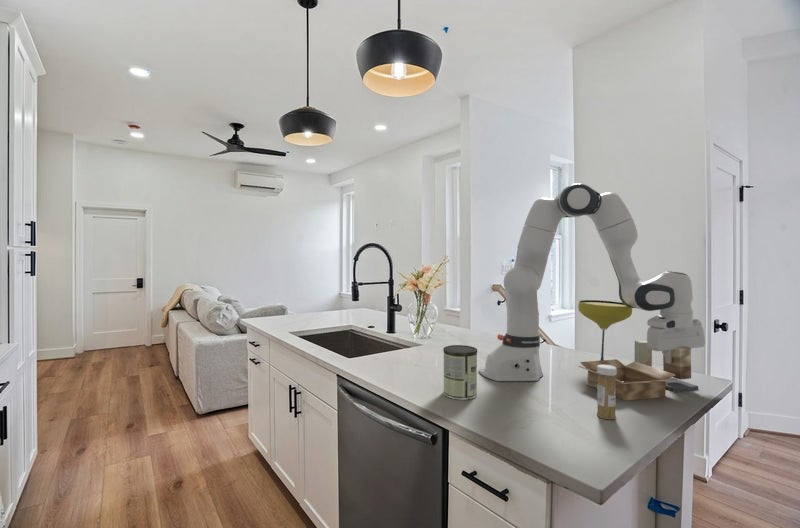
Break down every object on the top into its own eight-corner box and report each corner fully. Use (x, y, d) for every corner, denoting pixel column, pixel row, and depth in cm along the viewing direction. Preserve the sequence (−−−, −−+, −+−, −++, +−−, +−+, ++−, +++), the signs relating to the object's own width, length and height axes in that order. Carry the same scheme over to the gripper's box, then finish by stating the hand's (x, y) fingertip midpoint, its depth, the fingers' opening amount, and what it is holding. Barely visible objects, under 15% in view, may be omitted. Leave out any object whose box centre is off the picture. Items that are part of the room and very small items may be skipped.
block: (680, 379, 126) (679, 348, 126) (663, 374, 132) (663, 344, 132) (691, 378, 128) (690, 347, 127) (674, 373, 133) (673, 343, 133)
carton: (624, 406, 112) (625, 383, 112) (570, 381, 134) (570, 362, 134) (687, 399, 118) (687, 377, 118) (625, 376, 140) (625, 358, 140)
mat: (673, 391, 125) (673, 388, 125) (646, 381, 134) (646, 379, 134) (698, 389, 127) (698, 386, 127) (669, 379, 137) (669, 376, 137)
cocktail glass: (616, 379, 137) (619, 307, 136) (566, 366, 151) (569, 301, 150) (637, 370, 148) (640, 304, 148) (589, 359, 163) (592, 299, 162)
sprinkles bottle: (617, 421, 102) (618, 369, 102) (598, 418, 103) (598, 367, 103) (613, 414, 106) (614, 364, 106) (595, 412, 108) (595, 363, 107)
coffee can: (446, 387, 127) (447, 343, 127) (479, 391, 124) (479, 346, 124) (439, 397, 118) (439, 350, 117) (474, 402, 114) (474, 353, 114)
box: (652, 373, 144) (652, 343, 144) (639, 372, 145) (639, 342, 145) (646, 369, 150) (646, 340, 149) (633, 368, 151) (634, 339, 150)
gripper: (691, 317, 135) (692, 357, 135) (643, 320, 130) (643, 362, 131) (710, 320, 129) (710, 362, 129) (659, 323, 124) (660, 367, 124)
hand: (676, 362), depth 130 cm, fingers closed on block, 4 cm apart
